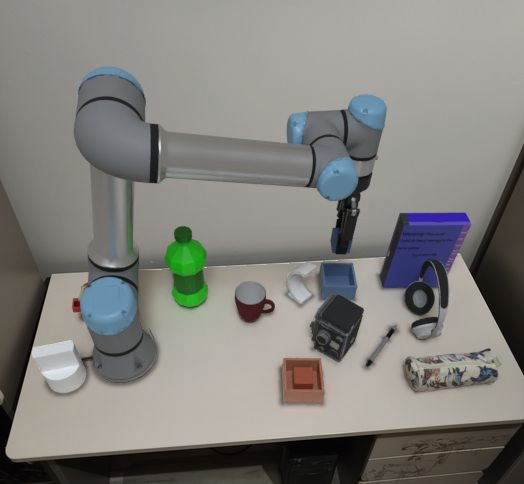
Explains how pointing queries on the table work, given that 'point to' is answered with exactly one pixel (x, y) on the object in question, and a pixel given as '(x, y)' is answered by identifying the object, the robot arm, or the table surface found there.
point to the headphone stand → (299, 282)
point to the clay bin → (302, 394)
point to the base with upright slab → (60, 365)
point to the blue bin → (337, 280)
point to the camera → (336, 326)
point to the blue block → (335, 239)
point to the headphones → (428, 301)
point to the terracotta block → (302, 378)
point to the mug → (252, 301)
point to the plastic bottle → (187, 268)
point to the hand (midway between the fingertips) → (339, 246)
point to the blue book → (422, 246)
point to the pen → (381, 346)
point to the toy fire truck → (78, 300)
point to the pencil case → (451, 370)
